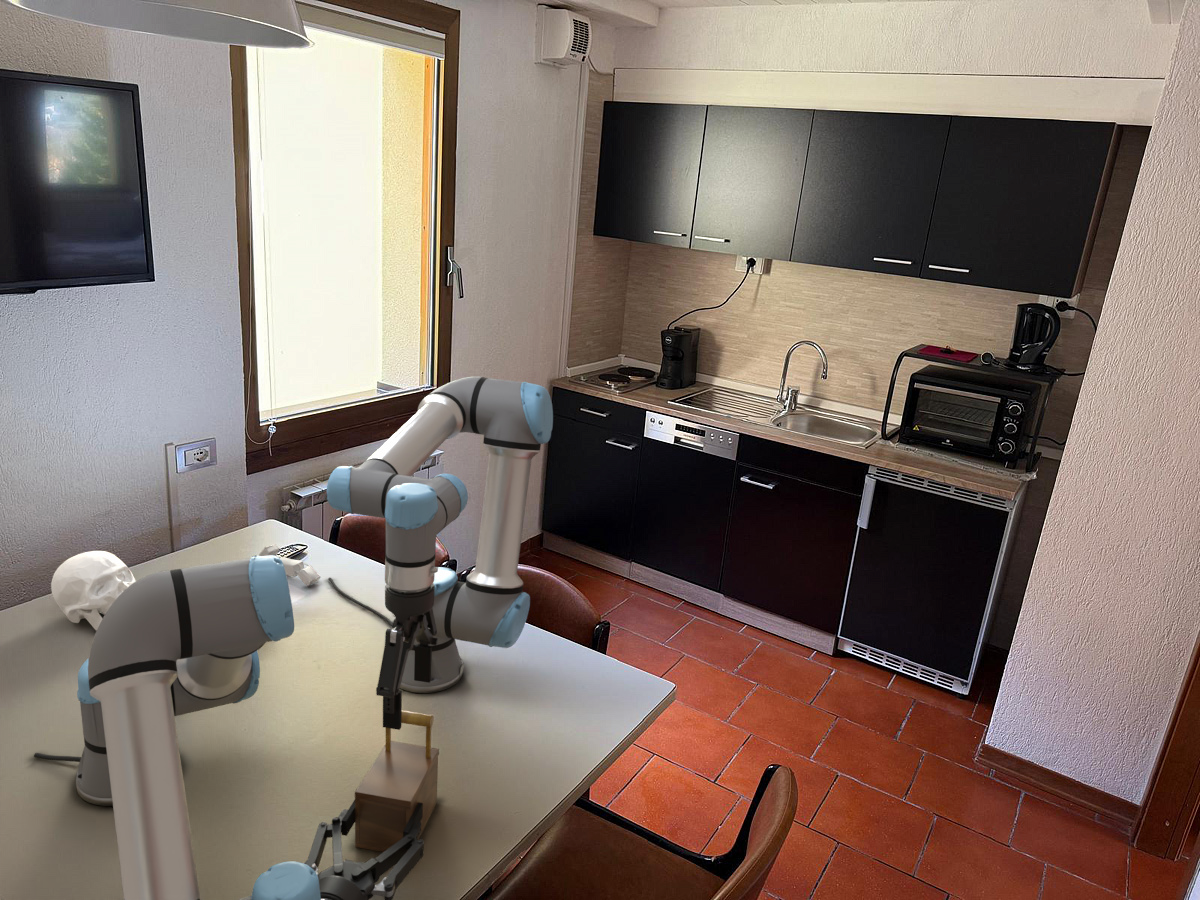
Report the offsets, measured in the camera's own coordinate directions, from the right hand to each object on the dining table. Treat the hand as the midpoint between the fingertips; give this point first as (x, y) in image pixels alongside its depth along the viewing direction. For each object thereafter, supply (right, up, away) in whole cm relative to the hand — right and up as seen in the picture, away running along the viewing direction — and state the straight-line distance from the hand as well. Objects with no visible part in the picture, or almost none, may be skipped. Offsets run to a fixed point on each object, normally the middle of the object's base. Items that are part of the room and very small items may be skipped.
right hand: (408, 702), depth 138 cm
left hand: (-2, -15, -3) cm, 16 cm away
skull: (-81, +2, +55) cm, 98 cm away
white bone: (-50, +8, +82) cm, 96 cm away
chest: (-2, -20, +2) cm, 21 cm away
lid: (-1, -12, 0) cm, 12 cm away
